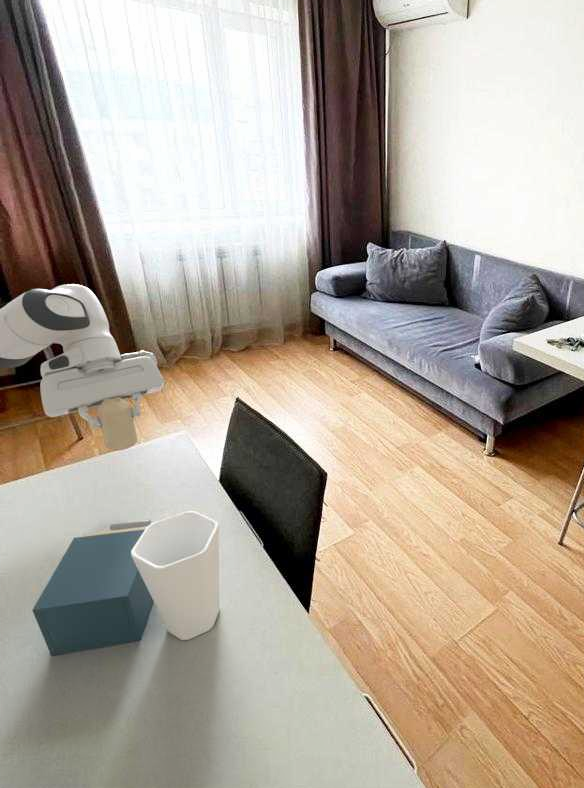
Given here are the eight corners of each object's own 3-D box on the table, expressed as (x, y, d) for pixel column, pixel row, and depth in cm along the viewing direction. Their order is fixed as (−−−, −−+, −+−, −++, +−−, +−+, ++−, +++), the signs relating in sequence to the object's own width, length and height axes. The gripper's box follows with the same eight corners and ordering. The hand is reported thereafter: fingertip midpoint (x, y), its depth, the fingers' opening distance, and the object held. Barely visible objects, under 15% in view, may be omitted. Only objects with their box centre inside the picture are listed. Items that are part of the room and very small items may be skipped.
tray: (105, 547, 88) (94, 514, 85) (169, 539, 91) (161, 506, 88) (62, 633, 73) (48, 597, 70) (140, 621, 76) (130, 585, 73)
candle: (98, 448, 98) (87, 404, 94) (121, 433, 103) (111, 391, 99) (122, 453, 97) (111, 409, 93) (144, 438, 102) (135, 396, 98)
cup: (140, 630, 76) (115, 546, 69) (196, 582, 84) (179, 503, 77) (192, 662, 72) (171, 577, 65) (245, 608, 80) (232, 528, 73)
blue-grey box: (88, 580, 83) (73, 537, 79) (164, 569, 86) (154, 527, 82) (51, 656, 71) (32, 610, 67) (141, 641, 74) (127, 595, 70)
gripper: (151, 355, 109) (172, 411, 106) (33, 378, 95) (54, 444, 93) (153, 342, 104) (175, 401, 102) (30, 366, 91) (52, 434, 88)
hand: (117, 422), depth 97 cm, fingers closed on candle, 5 cm apart
